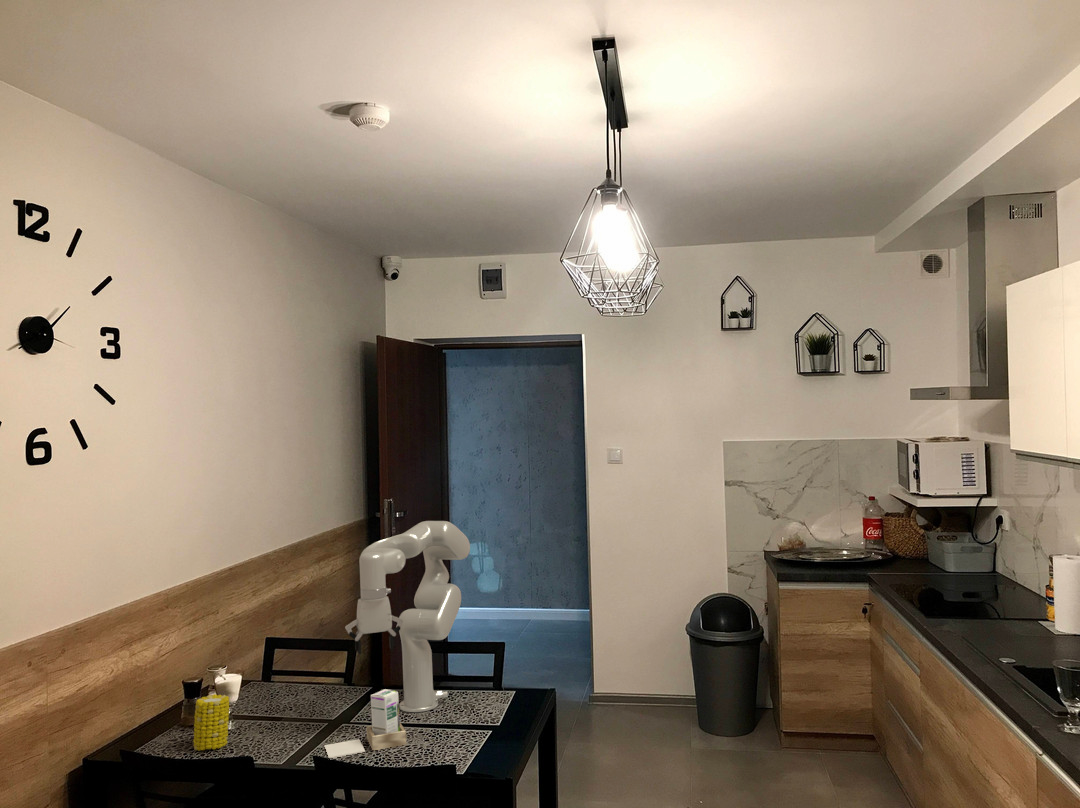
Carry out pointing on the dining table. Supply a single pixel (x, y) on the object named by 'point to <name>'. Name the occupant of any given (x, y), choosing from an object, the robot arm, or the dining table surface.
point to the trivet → (344, 748)
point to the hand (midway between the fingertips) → (375, 651)
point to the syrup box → (385, 712)
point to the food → (211, 722)
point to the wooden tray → (386, 739)
